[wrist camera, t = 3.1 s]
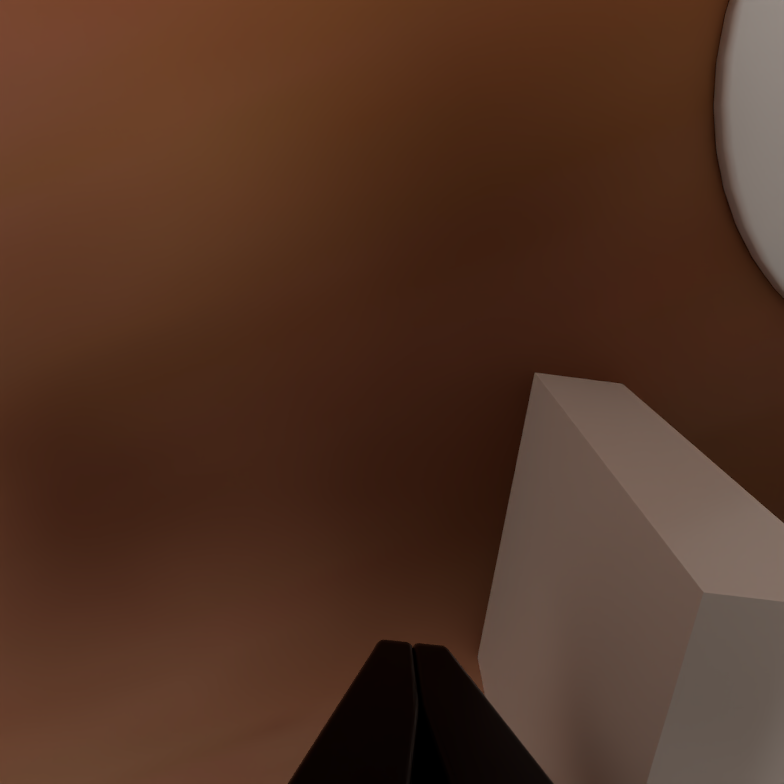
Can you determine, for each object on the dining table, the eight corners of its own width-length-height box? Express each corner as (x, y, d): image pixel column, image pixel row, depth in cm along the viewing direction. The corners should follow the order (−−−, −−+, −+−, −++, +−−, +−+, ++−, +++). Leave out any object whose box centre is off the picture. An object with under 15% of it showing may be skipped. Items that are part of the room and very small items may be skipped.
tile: (562, 666, 14) (716, 1092, 8) (477, 657, 14) (557, 1079, 8) (630, 384, 13) (905, 615, 6) (534, 372, 13) (702, 593, 6)
